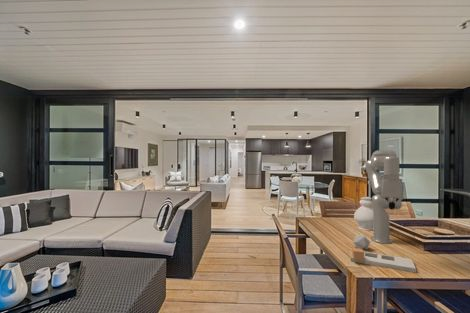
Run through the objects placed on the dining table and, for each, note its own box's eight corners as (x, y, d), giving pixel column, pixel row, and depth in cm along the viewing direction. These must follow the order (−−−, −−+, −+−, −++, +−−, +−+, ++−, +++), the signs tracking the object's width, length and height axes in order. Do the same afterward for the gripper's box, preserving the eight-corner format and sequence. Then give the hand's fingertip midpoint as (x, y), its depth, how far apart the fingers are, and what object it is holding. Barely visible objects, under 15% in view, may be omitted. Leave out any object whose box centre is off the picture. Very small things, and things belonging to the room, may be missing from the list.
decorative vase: (362, 224, 207) (361, 195, 208) (383, 229, 192) (383, 198, 192) (349, 227, 198) (349, 197, 199) (371, 232, 183) (370, 200, 183)
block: (352, 256, 134) (352, 247, 134) (362, 257, 133) (361, 248, 133) (353, 259, 129) (353, 251, 129) (364, 260, 128) (363, 252, 128)
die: (369, 253, 144) (374, 238, 148) (355, 245, 146) (360, 230, 149) (362, 253, 152) (367, 239, 156) (348, 245, 154) (354, 231, 157)
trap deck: (351, 253, 144) (351, 249, 144) (411, 262, 130) (411, 259, 130) (350, 261, 132) (350, 257, 132) (415, 272, 118) (415, 268, 118)
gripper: (376, 177, 140) (377, 209, 139) (408, 178, 133) (408, 211, 132) (376, 176, 146) (376, 206, 146) (406, 177, 139) (406, 209, 139)
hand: (391, 209), depth 139 cm, fingers closed
